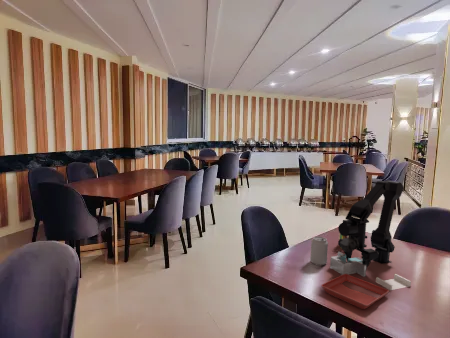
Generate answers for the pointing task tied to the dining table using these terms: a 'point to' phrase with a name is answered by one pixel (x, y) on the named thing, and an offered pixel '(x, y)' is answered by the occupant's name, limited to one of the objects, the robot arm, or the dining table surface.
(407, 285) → the white flat channel piece
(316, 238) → the can
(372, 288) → the plant saucer
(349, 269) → the bracket
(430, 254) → the dining table surface
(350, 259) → the plug
